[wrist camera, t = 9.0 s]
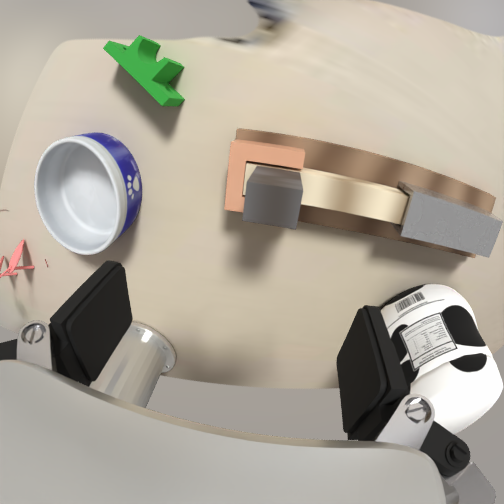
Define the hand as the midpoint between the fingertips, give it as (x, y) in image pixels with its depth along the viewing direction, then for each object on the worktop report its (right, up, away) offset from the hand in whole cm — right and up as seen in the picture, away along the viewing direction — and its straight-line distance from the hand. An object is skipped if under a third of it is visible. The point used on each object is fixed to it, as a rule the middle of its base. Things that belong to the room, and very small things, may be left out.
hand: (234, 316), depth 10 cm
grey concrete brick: (+24, +7, +17) cm, 30 cm away
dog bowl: (-20, +12, +23) cm, 33 cm away
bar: (+10, +9, +17) cm, 22 cm away
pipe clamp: (-10, +24, +15) cm, 30 cm away
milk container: (+25, -8, +26) cm, 38 cm away
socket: (+2, +10, +18) cm, 21 cm away
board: (+15, +9, +19) cm, 26 cm away
